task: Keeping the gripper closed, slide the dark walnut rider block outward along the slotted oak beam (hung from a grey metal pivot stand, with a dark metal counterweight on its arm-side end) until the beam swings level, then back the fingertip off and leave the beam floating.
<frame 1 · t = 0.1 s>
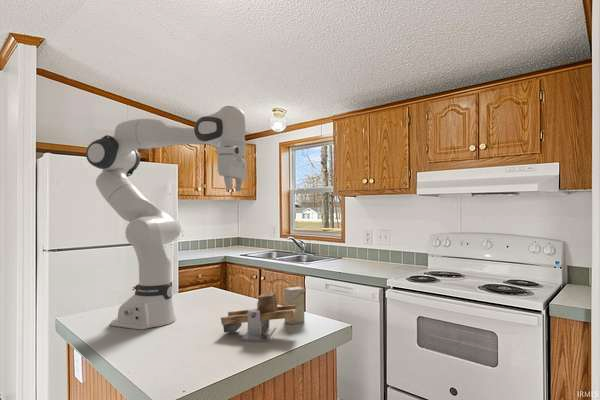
hand: (233, 190, 132), 48 cm above the countertop, fingers open, 8 cm apart
beam: (259, 316, 121), point 6 cm above the countertop, hinge at -8.0°, touching rider
pivot stand: (259, 334, 121), on the countertop
rider: (269, 313, 121), point 7 cm above the countertop, tilted 8°, touching beam
skincare box: (294, 322, 134), on the countertop
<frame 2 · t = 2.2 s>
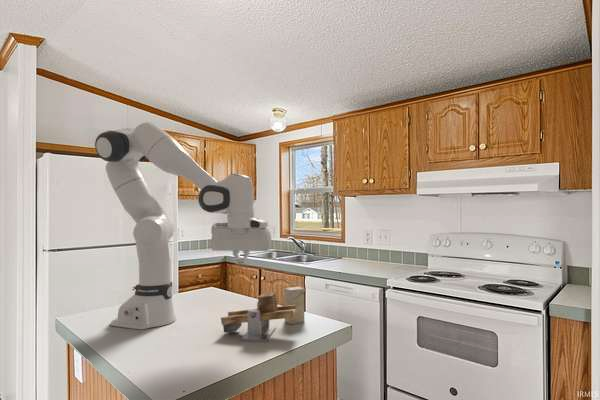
hand: (241, 264, 123), 23 cm above the countertop, fingers closed
nothing on the countertop moved.
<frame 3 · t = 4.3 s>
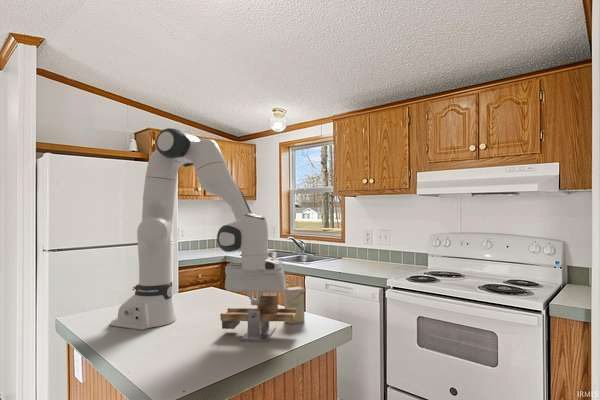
hand: (255, 304, 122), 10 cm above the countertop, fingers closed
beam: (259, 316, 121), point 6 cm above the countertop, hinge at -1.7°, touching rider
rider: (269, 314, 121), point 7 cm above the countertop, touching beam, gripper
everything else where it was.
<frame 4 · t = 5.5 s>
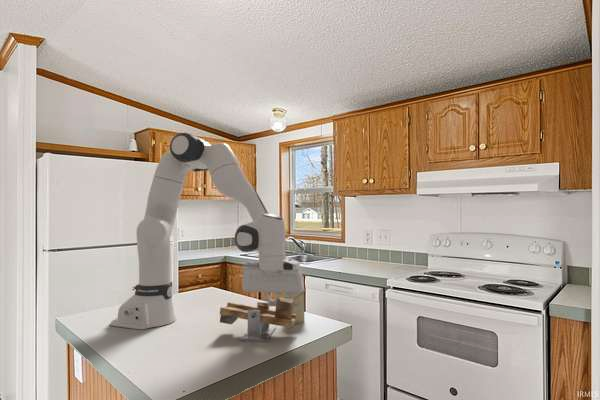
hand: (272, 305, 121), 10 cm above the countertop, fingers closed
beam: (258, 316, 121), point 6 cm above the countertop, hinge at 7.9°, touching rider
rider: (283, 318, 120), point 5 cm above the countertop, tilted 8°, touching beam, gripper
everything else where it was.
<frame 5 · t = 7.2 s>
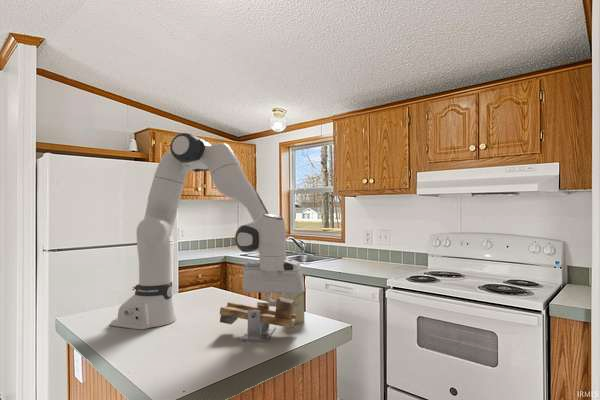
hand: (273, 306, 121), 9 cm above the countertop, fingers closed
nothing on the countertop moved.
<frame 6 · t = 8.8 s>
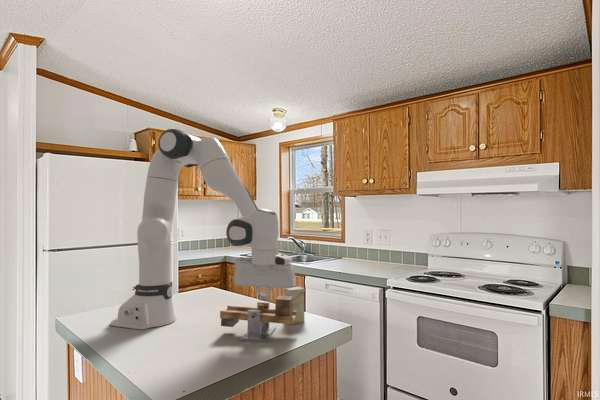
hand: (264, 300, 121), 11 cm above the countertop, fingers closed
beam: (258, 316, 121), point 6 cm above the countertop, hinge at 2.4°, touching rider
rider: (283, 316, 120), point 6 cm above the countertop, touching beam
everything else where it was.
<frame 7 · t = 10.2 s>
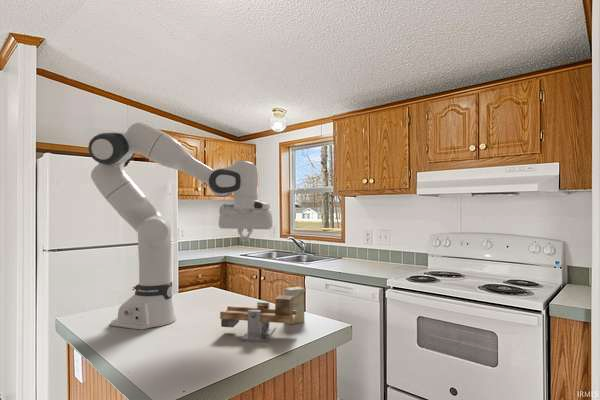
hand: (245, 241, 138), 29 cm above the countertop, fingers closed
beam: (258, 316, 121), point 6 cm above the countertop, hinge at 1.3°, touching rider
everything else where it was.
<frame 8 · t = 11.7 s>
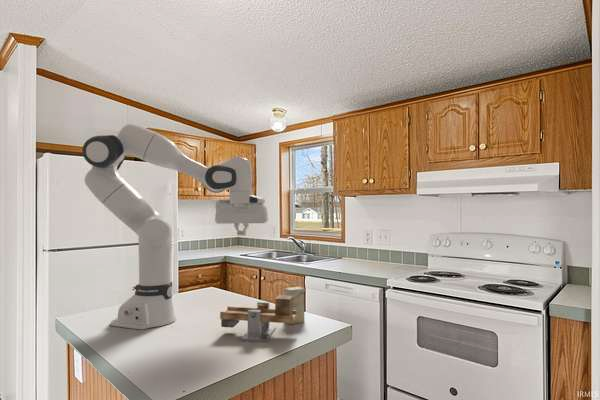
hand: (241, 235, 142), 31 cm above the countertop, fingers closed
nothing on the countertop moved.
at the end: beam at +1° (first picture: -8°); rider 0.1 cm from the target spot on the beam, point -1.6 cm above the beam's base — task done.
